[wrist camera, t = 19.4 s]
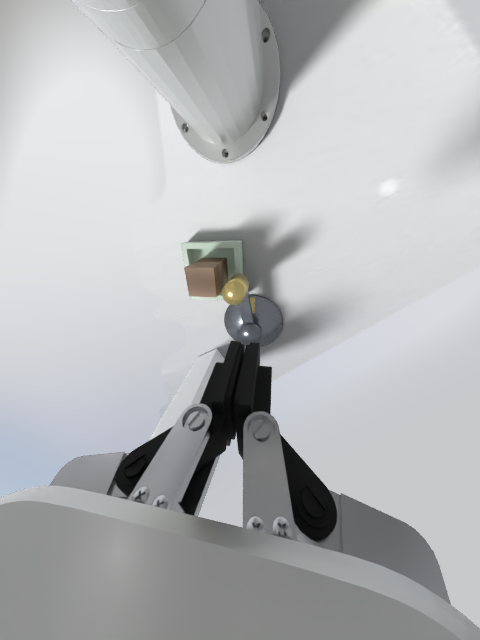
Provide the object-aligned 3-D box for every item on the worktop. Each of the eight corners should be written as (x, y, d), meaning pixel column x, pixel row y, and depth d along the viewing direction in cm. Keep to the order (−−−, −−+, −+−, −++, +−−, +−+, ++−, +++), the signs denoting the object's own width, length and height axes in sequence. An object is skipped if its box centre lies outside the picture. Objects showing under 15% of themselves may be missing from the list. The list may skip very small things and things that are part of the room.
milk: (232, 367, 41) (194, 493, 22) (211, 374, 44) (162, 494, 25) (216, 347, 39) (161, 468, 20) (196, 356, 42) (129, 472, 23)
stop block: (203, 257, 30) (184, 267, 24) (226, 257, 29) (213, 267, 23) (206, 281, 32) (189, 296, 26) (228, 282, 31) (216, 297, 25)
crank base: (222, 294, 33) (218, 300, 31) (284, 295, 31) (285, 302, 29) (227, 343, 38) (223, 351, 36) (280, 347, 36) (280, 356, 34)
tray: (187, 241, 30) (180, 243, 27) (242, 240, 28) (239, 241, 26) (196, 293, 34) (190, 299, 32) (244, 295, 32) (241, 300, 30)
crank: (263, 339, 32) (261, 359, 28) (242, 340, 33) (236, 360, 29) (251, 269, 27) (245, 280, 22) (226, 273, 28) (215, 285, 23)
